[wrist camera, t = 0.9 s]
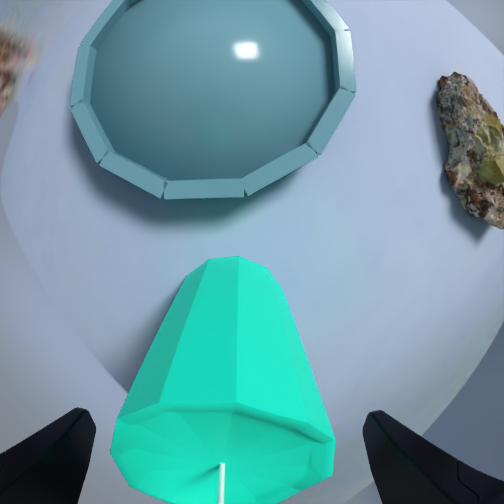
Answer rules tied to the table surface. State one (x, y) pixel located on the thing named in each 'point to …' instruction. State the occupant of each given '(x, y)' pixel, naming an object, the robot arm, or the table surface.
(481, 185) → the mineral rock
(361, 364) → the table surface
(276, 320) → the candle
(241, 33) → the dish
